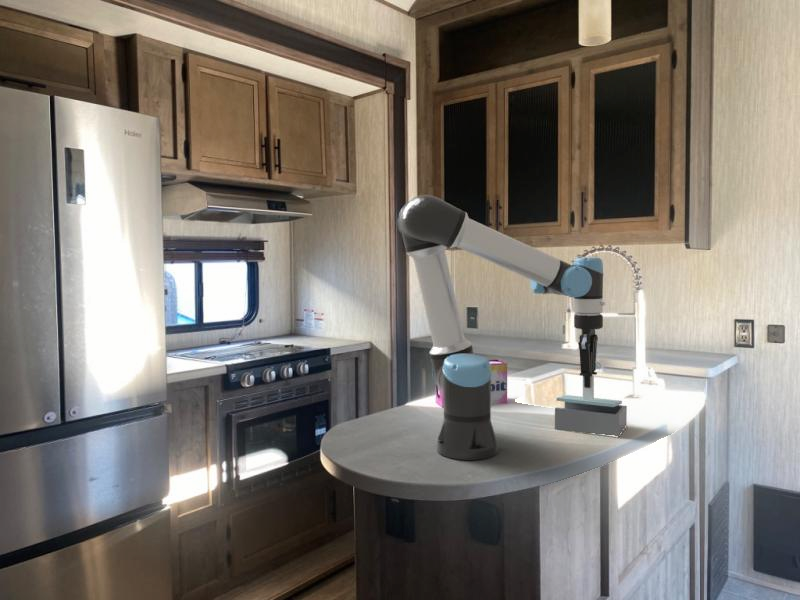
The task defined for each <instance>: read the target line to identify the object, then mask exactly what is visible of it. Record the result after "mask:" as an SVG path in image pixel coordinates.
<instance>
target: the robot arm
mask: <svg viewBox="0 0 800 600" xmlns="http://www.w3.org/2000/svg"><path fill="white" fill-rule="evenodd" d="M397 227H398V231H399V233H400V235H401V237H402V240H403V244H404V248H405V249H404V250H405V252H406V255H408V256H409V257H411V258H412V259H413V262H414V267H415V270H416V275H417V279H418V284H419V288H420V292H421V293H420V294H421V297H422V301H423V306H424V310H425V314H426V315H425V316H426V319H427V323H428V324H427V325H428V327H429V332H430V337H431V340H432V347H431V349H430V350H429V357H430V361H431V366H432V369H431V371H432V373H431V375H432V379H433V382H434V384H435V386H436V385H437V386H438V388H439V389H440V390H441V391H442V392H443V394H444V408H443V421H442V424H441V428H440V431H439V434H438V436H437V438H436V439H437V440H436V450H437V453H438V454H440V455H442V456H444V457H447V458H450V459H454V460H464V461H465V460H466V461H468V460H469V461H475V460H476V461H477V460H485V459H488V458H492V457H494V456H495V455H497V454H498V451H499V449H498V448H499V444H498V442H499V441H498V439H497V436H496V432H495V429H494V426H493V423H492V418H491V417H492V416H491V415H492V414H491V412H492V410H491V409H492V407H491V406H492V404H491V369H490V363H489V361H488V360H489V359H487V358H486V357H484V356H482V355H478V354H475V353H474V349H473V344H472V342H471V341H469V340H468V339H466V337H465V334H464V331H463V329H464V328H463V325H462V321H461V318H460V317H461V316H460V312H459V308H458V303H457V299H456V298H457V297H456V295H455V290H454V287H453V285H454V284H453V281H452V277H451V273H450V267H449V263H448V258H447V254H446V250H447V248H448V249H453V248H458V249H460V250H463V251H465V252H467V253H470V254H472V255H474V256H476V257H479V258H481V259H483V260H485V261H487V262H490V263H492V264H494V265H496V266H498V267H500V268H503V269H505V270H508V271H510V272H512V273H514V274H517V275H518V276H522V277H523V278H526V279H528V280H529V284H530V289H531V290H532V292H533V293H534V294H540V295H541V294H543V295H547V294H548V295H549V294H551V295H552V294H553V295H554V294H555V295H560V296H565V297H569V298H573V312H574V313H575V314H574V316H573V318H574V319H573V325H574V326H573V327H574V328H576V329H579V330H581V334H580V335H579V341H578V343H577V344H578V349H579V364H580V372H579V376H582V397H583V399H592V400H593V399H594V398H595V376H596V375H597V373H598V372H597V367H596V366H597V348H598V335H597V334H596V330H600V329H603V326H604V319H603V318H604V315H602V313H603V311H604V308H603V306H605V305H606V302H605V301H603V299H604V295H603V294H604V291H603V289H604V263H603V260H602V259H601V258H600V257H597V256H596V257H593V256H592V257H591V256H589V257H576V258H574V260H573V264H570V263H568V262H566V261H564V260H561V259H560V258H557V257H555V256H552V255H550V254H548V253H546V252H544V251H541V250H540V249H537V248H535V247H533V246H531V245H528V244H526V243H524V242H522V241H520V240H517V239H515V238H513V237H511V236H509V235H507V234H504V233H502V232H500V231H498V230H496V229H493V228H491V227H489V226H486V224H485V225H484V224H483V223H480V222H478V221H475V220H474V219H471V218H470V217H469V216H468V213H467V212H466V211H464V210H462V209H460V208H457V207H456V206H454V205H452V204H451V203H448V202H446V201H445V200H443V199H441V198H439V197H437V196H434V195H432V194H420V195H417V196H415V197H414V198H412V199H411V200H409V201H407V202H406V203H405V204H404V205H403V206H402V208H401V209H400V211H399V214H398V217H397Z"/></svg>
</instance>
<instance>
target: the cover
mask: <svg viewBox="0 0 800 600" xmlns="http://www.w3.org/2000/svg"><path fill="white" fill-rule="evenodd" d="M556 402H564V403H565V402H572V403H581V404H591V405H600V406H609V407H615V406H617V405H623V401H622V400H619V399H607V398H598V397H594V399H593V400H592V399H583V396H579V395H569V394H567V395H563V396H559V397H558V396H557V397H556Z"/></svg>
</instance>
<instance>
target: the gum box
mask: <svg viewBox="0 0 800 600" xmlns="http://www.w3.org/2000/svg"><path fill="white" fill-rule="evenodd" d="M487 360H488V361H489V363H490V369H491V405H505V404H508V363H507V362H506V361H504V360H501V359H487ZM435 404H437V405H438V406H439V407H441V408H442V409H444V394H443V392H442V391H441V390H440V389H439V388H438V386H437V385H436V384H435Z"/></svg>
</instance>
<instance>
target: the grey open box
mask: <svg viewBox="0 0 800 600" xmlns="http://www.w3.org/2000/svg"><path fill="white" fill-rule="evenodd" d="M627 408H628V405H623V404H620V405H617V406H615V407H609V406H600V405H591V404H581V403H572V402H564V407H558V406H557V407H554V430H556V429H557V431H558V430H559V431H564V430H565V432H571V431H575V432H574V433H579V432H585V433H584V434H586V433H595V434H605V435H615V436H619V435H620V433H621V432H622V431H623V429H624V428H625V426H626V427H627V419H628V418H627V412H628V411H627V410H628V409H627ZM625 429H626V428H625ZM623 432H624V431H623ZM623 432H622V433H623ZM620 436H621V435H620Z"/></svg>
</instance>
